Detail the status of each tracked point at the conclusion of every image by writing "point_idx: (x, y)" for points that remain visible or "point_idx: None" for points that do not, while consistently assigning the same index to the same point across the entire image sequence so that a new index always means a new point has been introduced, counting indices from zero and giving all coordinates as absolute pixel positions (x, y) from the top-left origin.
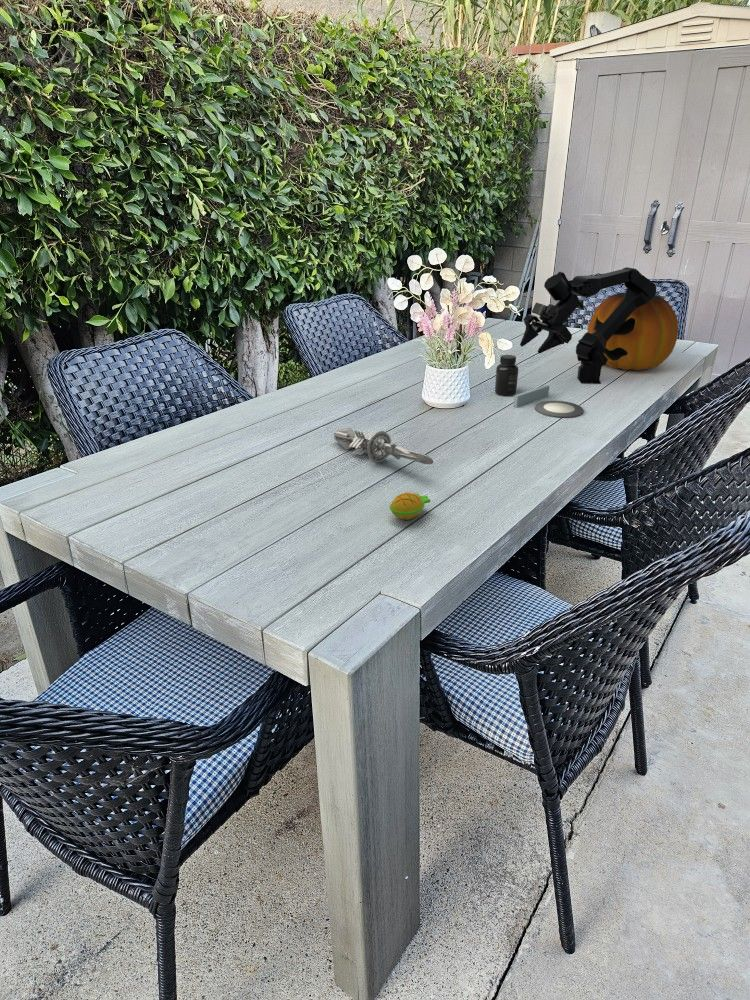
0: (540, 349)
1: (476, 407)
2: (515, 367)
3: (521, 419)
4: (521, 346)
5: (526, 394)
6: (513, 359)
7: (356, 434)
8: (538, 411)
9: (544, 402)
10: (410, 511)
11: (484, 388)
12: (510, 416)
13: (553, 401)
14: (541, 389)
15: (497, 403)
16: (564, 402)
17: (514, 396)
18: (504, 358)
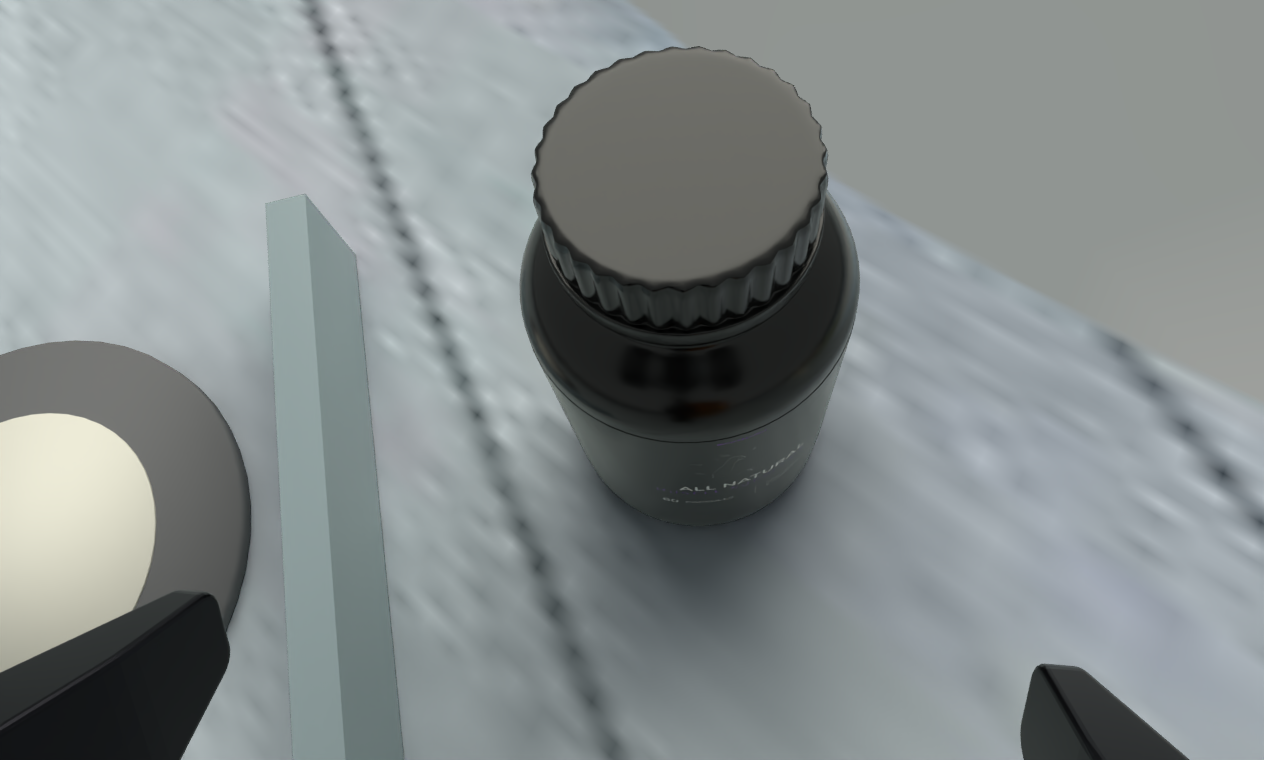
0: (105, 639)
1: (515, 4)
2: (535, 297)
3: (114, 144)
4: (1032, 718)
5: (278, 340)
6: (535, 191)
7: None
8: (111, 347)
9: (204, 545)
10: None
11: (957, 324)
12: (210, 112)
13: None
14: (292, 617)
15: (499, 186)
16: None
17: (309, 200)
18: (624, 59)
